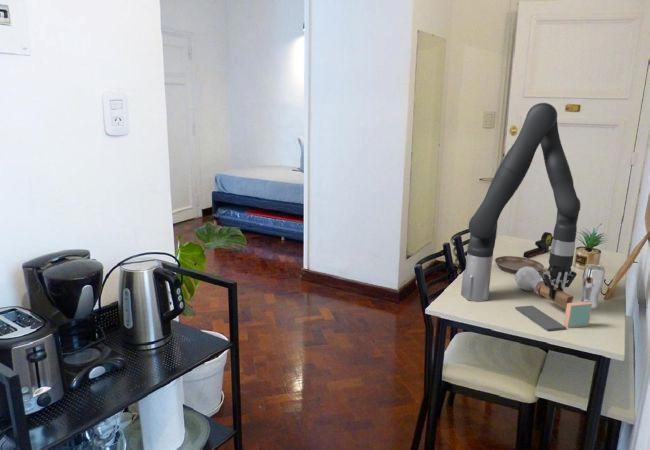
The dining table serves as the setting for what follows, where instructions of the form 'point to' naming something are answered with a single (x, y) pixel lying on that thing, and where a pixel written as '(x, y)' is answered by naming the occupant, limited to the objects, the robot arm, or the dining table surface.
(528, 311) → the mat
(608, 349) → the dining table surface
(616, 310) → the dining table surface
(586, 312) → the glazed tile
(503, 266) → the plant saucer
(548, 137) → the robot arm
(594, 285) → the silver upright cylinder
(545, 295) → the bar
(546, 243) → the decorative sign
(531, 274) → the potion bottle
